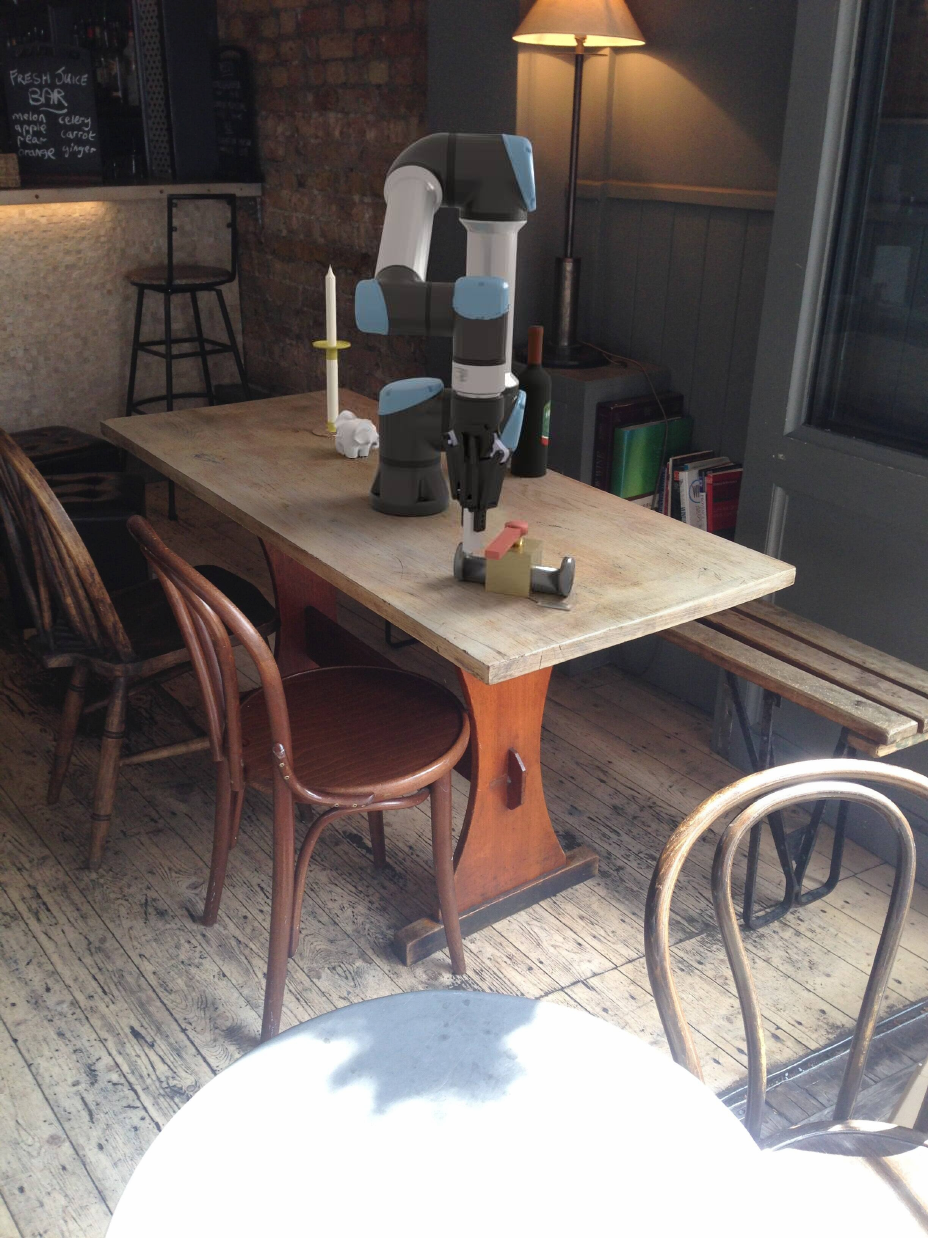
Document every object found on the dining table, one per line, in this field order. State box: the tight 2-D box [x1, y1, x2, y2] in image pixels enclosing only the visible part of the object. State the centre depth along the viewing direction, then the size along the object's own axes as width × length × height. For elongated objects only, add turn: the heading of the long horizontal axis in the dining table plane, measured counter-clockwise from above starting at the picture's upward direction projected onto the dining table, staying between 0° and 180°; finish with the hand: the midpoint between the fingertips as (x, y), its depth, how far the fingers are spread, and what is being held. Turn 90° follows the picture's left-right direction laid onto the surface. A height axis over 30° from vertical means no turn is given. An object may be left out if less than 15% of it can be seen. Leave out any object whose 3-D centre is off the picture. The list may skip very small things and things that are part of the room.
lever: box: [483, 520, 529, 560], centre depth 163 cm, size 14×4×1 cm, turn 161°
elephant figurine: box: [333, 410, 379, 459], centre depth 237 cm, size 10×12×9 cm
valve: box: [452, 536, 576, 611], centre depth 169 cm, size 20×9×9 cm, turn 71°
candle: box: [312, 265, 351, 432], centre depth 248 cm, size 10×10×38 cm
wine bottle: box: [510, 325, 553, 479], centre depth 224 cm, size 8×8×30 cm
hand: (472, 549), depth 163 cm, fingers closed
